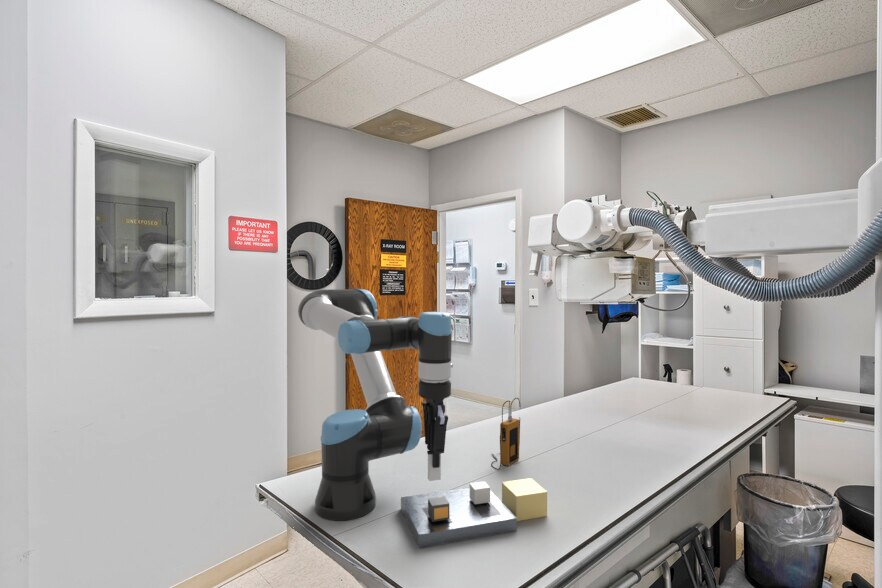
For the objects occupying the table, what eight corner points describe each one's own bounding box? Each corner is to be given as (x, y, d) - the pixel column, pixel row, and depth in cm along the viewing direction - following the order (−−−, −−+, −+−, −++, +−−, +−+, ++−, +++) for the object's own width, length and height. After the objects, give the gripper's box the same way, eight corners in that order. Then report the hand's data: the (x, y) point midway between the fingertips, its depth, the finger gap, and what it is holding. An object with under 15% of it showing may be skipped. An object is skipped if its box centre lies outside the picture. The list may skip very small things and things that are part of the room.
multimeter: (499, 449, 158) (499, 390, 158) (525, 456, 152) (525, 395, 151) (473, 462, 147) (473, 399, 146) (501, 471, 141) (501, 404, 140)
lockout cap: (516, 521, 112) (516, 496, 111) (501, 505, 119) (502, 482, 119) (547, 516, 114) (547, 491, 114) (530, 500, 122) (531, 477, 122)
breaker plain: (474, 504, 113) (474, 489, 113) (469, 497, 116) (469, 483, 116) (490, 501, 114) (490, 487, 114) (484, 495, 118) (484, 481, 117)
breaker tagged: (432, 522, 105) (432, 506, 105) (428, 514, 108) (427, 498, 108) (449, 519, 106) (449, 503, 106) (444, 511, 110) (444, 496, 109)
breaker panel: (419, 548, 101) (419, 534, 100) (401, 509, 118) (400, 497, 118) (516, 531, 107) (516, 518, 107) (486, 496, 125) (486, 484, 124)
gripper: (459, 384, 104) (458, 489, 105) (441, 372, 116) (441, 465, 117) (426, 386, 101) (426, 493, 102) (412, 374, 114) (411, 469, 115)
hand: (434, 478), depth 110 cm, fingers closed
